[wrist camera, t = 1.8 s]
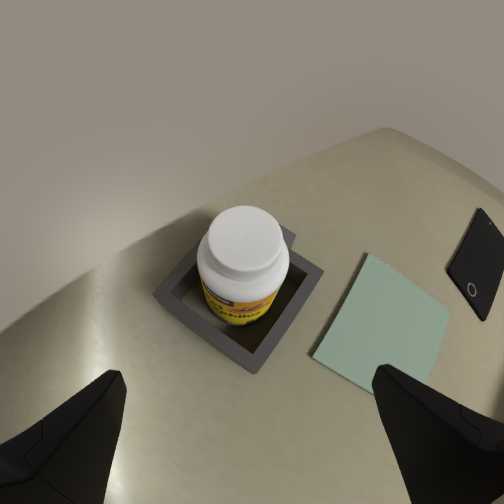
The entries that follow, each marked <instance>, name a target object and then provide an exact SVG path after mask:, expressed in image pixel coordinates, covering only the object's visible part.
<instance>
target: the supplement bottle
mask: <svg viewBox="0 0 504 504" xmlns="http://www.w3.org/2000/svg"><path fill="white" fill-rule="evenodd" d="M197 265H198V270H199V274H200V278H201V282H202V286H203V289H204V293H205V296H206V300H207V303H208V306H209V308H210V310H211V311H212V313H213V314H214V315H215V316H216V317H217V318H218V319H220V320H221V321H223V322H225V323H228V324H231V325H237V326H242V325H248V324H251V323H254V322H256V321H258V320H259V319H260V318H262V317H263V316H264V315H265V313H266V312H267V311H268V309H269V308H270V306H271V304H272V302H273V300H274V298H275V296H276V294H277V292H278V290H279V288H280V286H281V285H282V283H283V281H284V279H285V277H286V274H287V271H288V267H289V252H288V249H287V246H286V243H285V241H284V239H283V235H282V231H281V228H280V226H279V224H278V223H277V221H276V220H275V219H274V218H273V217H272V216H271V215H270V214H269V213H267V212H266V211H264V210H262V209H259V208H256V207H252V206H236V207H232V208H229V209H227V210H225V211H223V212H222V213H220V214H219V215H218V216H217V217H216V218H215V219H214V220H213V222H212V223H211V225H210V227H209V230H208V231H207V233H206V234H205V235H204V237H203V238H202V240H201V242H200V245H199V248H198V252H197Z"/></svg>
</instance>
